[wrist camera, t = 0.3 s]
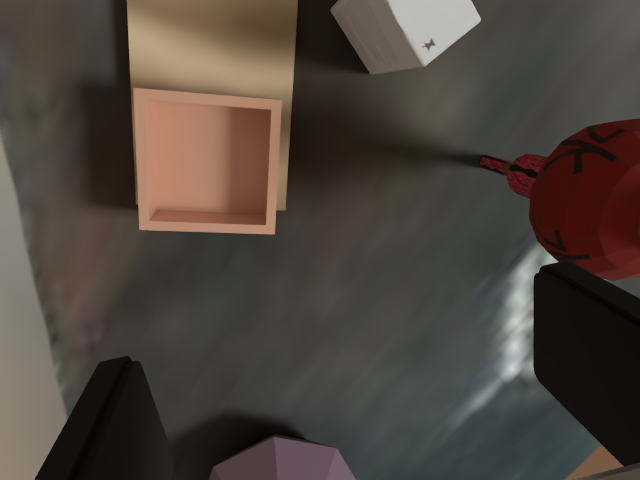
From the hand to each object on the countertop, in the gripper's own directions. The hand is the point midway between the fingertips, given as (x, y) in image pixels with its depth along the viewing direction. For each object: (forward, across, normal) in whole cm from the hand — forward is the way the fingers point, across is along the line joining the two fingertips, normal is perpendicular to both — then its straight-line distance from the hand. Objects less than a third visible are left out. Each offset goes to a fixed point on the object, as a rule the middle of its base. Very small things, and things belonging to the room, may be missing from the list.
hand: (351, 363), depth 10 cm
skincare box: (+30, -9, -10) cm, 32 cm away
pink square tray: (+28, +5, -2) cm, 29 cm away
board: (+29, +4, -6) cm, 30 cm away
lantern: (+30, -19, +3) cm, 35 cm away
